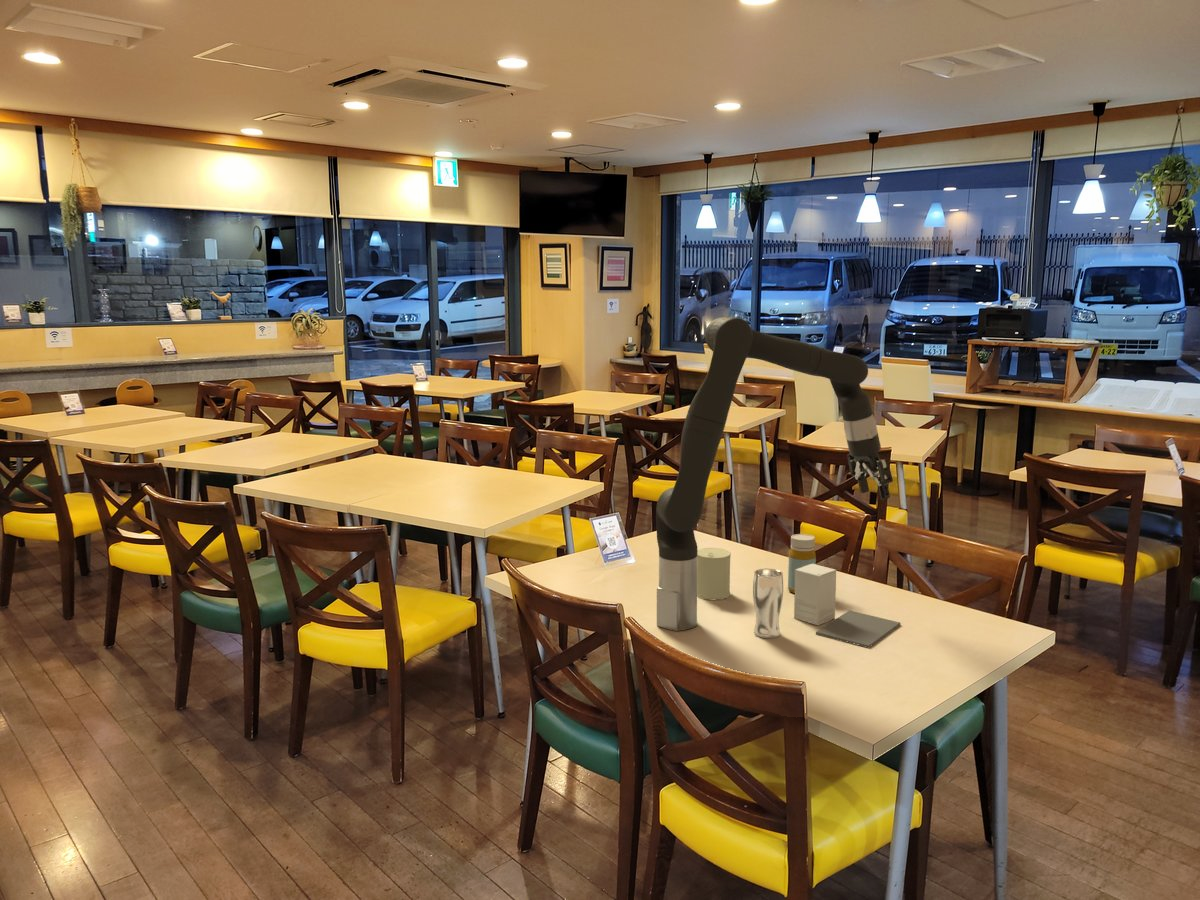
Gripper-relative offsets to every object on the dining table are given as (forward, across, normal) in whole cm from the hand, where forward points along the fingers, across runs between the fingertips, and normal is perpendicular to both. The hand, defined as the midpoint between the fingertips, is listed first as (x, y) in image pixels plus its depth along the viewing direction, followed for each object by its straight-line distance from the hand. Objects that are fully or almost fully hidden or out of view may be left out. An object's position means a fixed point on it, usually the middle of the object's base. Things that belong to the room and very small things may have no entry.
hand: (875, 495), depth 218 cm
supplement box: (+24, +1, -25) cm, 34 cm away
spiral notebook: (+25, +11, -19) cm, 34 cm away
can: (+19, -23, -40) cm, 50 cm away
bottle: (+25, -17, -18) cm, 35 cm away
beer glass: (+20, +6, -40) cm, 45 cm away
